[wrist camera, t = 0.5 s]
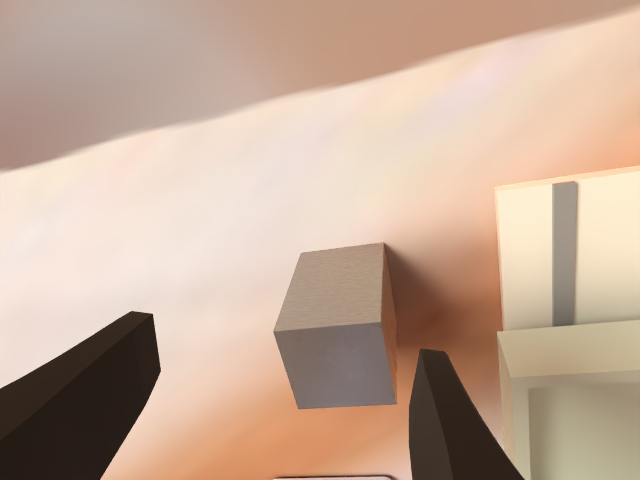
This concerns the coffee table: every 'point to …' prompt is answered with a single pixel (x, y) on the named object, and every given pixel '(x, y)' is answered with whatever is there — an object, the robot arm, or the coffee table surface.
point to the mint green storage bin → (572, 401)
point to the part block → (340, 329)
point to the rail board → (569, 249)
